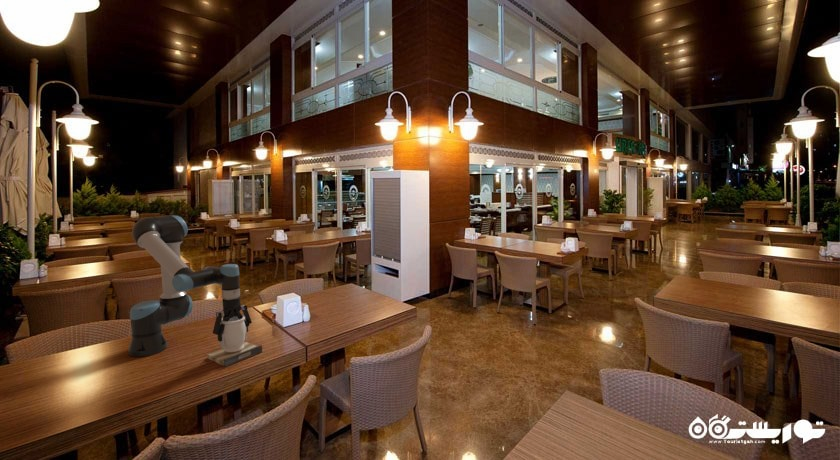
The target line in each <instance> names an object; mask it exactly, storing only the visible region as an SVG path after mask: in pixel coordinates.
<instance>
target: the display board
mask: <svg viewBox="0 0 840 460" xmlns="http://www.w3.org/2000/svg"><path fill="white" fill-rule="evenodd" d="M243 345H244V348H243V349H242V350H240V351H236V352H226V351H224V348H221V349H218V350H215V351H213V352H209V353H207V354H206V358H207V359H208V360H210V361H213V362H214V363H216V364H219V365H221V366H223V367H225V368H226V367H229V366H231V365H233V364H236V363H238V362H241V361H243V360H246V359H248V358H252V357H253V356H256V355H258V354H261V353H262V352H263V345H261V344H259V345H255V344H252V343H250V342H247V341H246V340H244V343H243Z"/></svg>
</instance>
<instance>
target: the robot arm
mask: <svg viewBox="0 0 840 460" xmlns="http://www.w3.org/2000/svg"><path fill="white" fill-rule="evenodd" d="M188 232H189V231H188V224H187V222H186V221H185V220H184V219H183V218H182V217H181V216H180V215H161V216H160V215H159V216H147V217H143V218H141V219H139V220H137V222H135V223H134V225H133V226H132V230H131V236H132V239H133V241H134V242H135V244H136V245H137V246H139V248H141V249H145V250H146V251H147V252H148V253H149V255H150V256H152V257H153V259H154V260H155V261H156V262H157V263H158V264H159V265H160V271H161V273H160V274H161V285H162V287H161V288H162V293H161V294H160V295H159V300H158V299H152V300H151V299H150V300H145V301H141V302H138V303H137V304H134V305H133V306H132V307H131V308H130V311H129V319H130V329H131V341H130V343H129V347H128V350H127V351H128V356H130V357H134V358H136V357H137V358H139V357H146V356H147V357H148V356H152V355H155V354H159V353H161V352H163V351H165V350H166V349H167V347H168V342H167V340H166V338H165V336H164V334H163V332H162V326H163V325H167V324H170V323H173V322H176V321H180V320H182V319H185V318H187V317H188V316H190V315H191V313H192V312H193V310H194V302H193V300H192V297H191V296H190V295H188V294H187V291H191V290H193V289H198V288H202V287H205V286H206V287H207V286H210V285H214V284H215V285H216V284H217V285H221V298H222V300H221V301H222V311H216V313H215V322H214V324H213V325H214V326H213V330H212V334H214V335H216V336H217V341H218V342H219V347H220V348H221V349H223V348H225V341H224V334H222V333H223V331H224V327H225V324H222V323H221V320H222V318H223V321H227V322H228V320H229V319H230V318H232V317H236V316H237V317H238V318H239V320H240V319H242V318H243V316H245V320H244V322H245V327H246V333H245V340H244V341H247V340H248V332H249V326H250V325H251V324H252V323H253V322H252V319H251V316H250V313H249V310H248V305H246V304H242V305H241V303H242V301H241V290H240V289H241V285H240V281H241V280H240V269H239V265H238V264H236V263H227V264H223V265H221V266H220V267H219V266H218V267H217V266H206V267H204V268H203V269H201V270H195V271H194V270H192V269H191V268H190V267H189V266H188V265H187V263H185V261H183V260H182V258H181V248H180V247H181V244H182V243H183V242H184V238H185V237H186V236H187V235H188ZM241 311H242V313H241ZM242 314H243V316H242ZM226 317H227V318H226Z"/></svg>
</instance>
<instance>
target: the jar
mask: <svg viewBox="0 0 840 460" xmlns="http://www.w3.org/2000/svg"><path fill="white" fill-rule="evenodd" d="M241 315H242V314H241ZM242 316H243V318H242V319H240V320H239V318H238V317H237V316H236V317H232V318H230V319H229V320H228V322H227V321H223V317H222V320H221V323H222V324H225V327H224V331H223V333H222V334H224V341H225V348H224V351H226V352H236V351H240V350H242V349H243V348H244V345H243V343H244V341H246V340H245V333H246V327H245V322H244V320H246V319H245V316H244V314H243V315H242ZM226 318H227V317H226Z"/></svg>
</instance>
